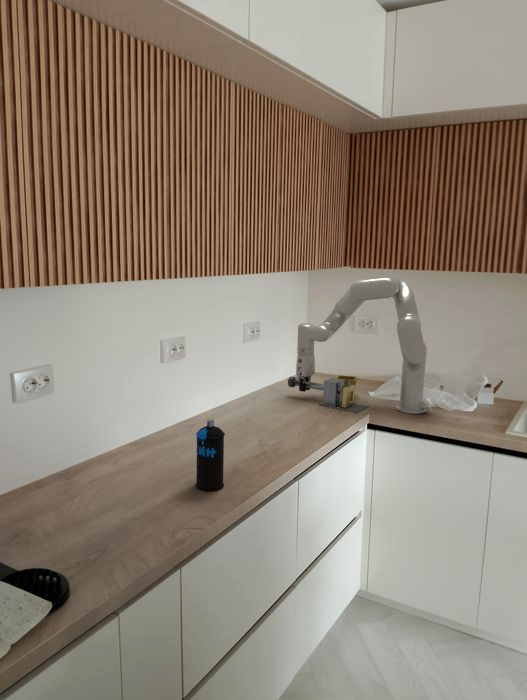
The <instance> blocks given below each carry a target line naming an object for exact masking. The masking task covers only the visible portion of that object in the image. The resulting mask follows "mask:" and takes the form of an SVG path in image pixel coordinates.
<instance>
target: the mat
mask: <svg viewBox="0 0 527 700" xmlns="http://www.w3.org/2000/svg"><path fill="white" fill-rule="evenodd" d="M369 407H370V406H369V405H364V404H359V403H354V404H353V405H351V406H349V407H347V408H344V407H342V408H340V407H338V408H336V409H335V410H338V409H341V410H340V411H343V410H346V411H345V412H349V411H351V412H350V413H354V412H356V413H355V414H359V413H360V412H363V411H365V410H366V409H368V408H369ZM358 412H359V413H358Z"/></svg>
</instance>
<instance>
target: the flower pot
mask: <svg viewBox="0 0 527 700" xmlns="http://www.w3.org/2000/svg"><path fill="white" fill-rule="evenodd" d="M336 379H343V380H344V388H345V387H347V384H348V382H351V385H355V387H356V384H357V379H358V377H357V376H353V375H340V374H339V375H337V377H336Z"/></svg>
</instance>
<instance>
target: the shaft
mask: <svg viewBox="0 0 527 700" xmlns="http://www.w3.org/2000/svg"><path fill="white" fill-rule="evenodd" d="M305 383H306V388H310V389H313V390H317V391H318V390H319V391H323V389H324V383H318V382H313V381H309V382H307V381H305ZM287 385H288V387H290V388H295V387H299V380H298V379H297V376H290V377H289V378H288V380H287ZM338 393H340V394H341V387H338Z"/></svg>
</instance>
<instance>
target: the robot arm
mask: <svg viewBox="0 0 527 700" xmlns="http://www.w3.org/2000/svg"><path fill="white" fill-rule="evenodd" d="M390 298H392V299H393V300H394V305H395V309H396V315H397V324H396V332H397V336H398V342H399V348H400V351H401V356H402V364H401V365H402V368H401V380H400V381H401V382H400V394H399V395H400V397H399V404H397V405H395V409H396V411H398V412H400V413H404V414H411V415H413V414H414V415H416V414H417V415H418V414H424V413H425V412H426V411H427V410H429V411H432V409H433V406H432V405H431V404H428V403H427V404H426V403H425V400H424V399H423V398H424V386H425V377H426V376H425V375H426V374H425V373H426V363H427V362H426V361H427V353H428V351H427V349H428V348H427V345H426V343H425V341H424V338H423V333H422V322H421V318H420V316H419V311H418V306H417V303H416V299H415V295H414V291H413V290H412V287H411V286H410V285H409V283H408V282H407V281H405V280H403V279H401V278H399V277H398V276H397V277H396V276H385V277H381V278H371V279H362V278H361V279H358V280H355V281H353V282H352V283H351V285H350V287H349V289H348V290H347V291H346V292H345V293H344V294H343V295H342V297H340V298H339V300H338V301H337V302H336V303H335V305H334V308H333V309H332V311H331V312H330V314H329V315H328V316H327V317H326V318H325V319H324V320H323V322H321V323H320V324H318V325H314V324H313V323H307V322H305V323H304V322H303V323H299V324H298V327H297V348H296V351H297V352H296V353H297V357H296V366H295V371H296V372H295V375H296V379H297V380H299V386H298V390H299V392H302V393H303V392H304V393H306V391H310V390H311V388H306V383H305V381H307V382H311V380H312V379H311V377H312V376H313V375H315V373H316V361H315V360H316V359H315V342H319V343H323V342H327V341H328V340H330V339H331V338H332V337H334V335H335V333H337V331H339V329H340V328H341V327H342V326H343V325H344V324H345V323H346V322H347V320H349V319H350V318H351V317H352V316H353V315H354V313H355V312H356V311H357V310H358V309H359V308H360V307H361V306H362V305H363V303H365V301H371V300H384V299H390Z"/></svg>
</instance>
